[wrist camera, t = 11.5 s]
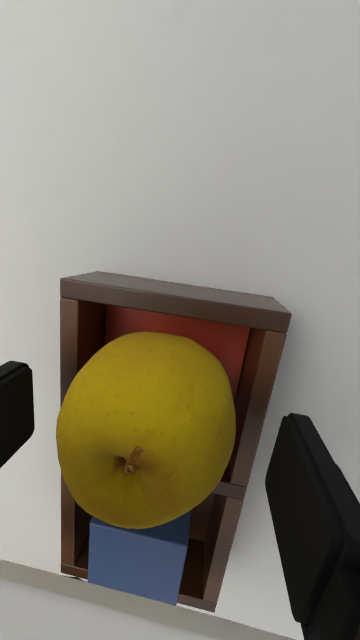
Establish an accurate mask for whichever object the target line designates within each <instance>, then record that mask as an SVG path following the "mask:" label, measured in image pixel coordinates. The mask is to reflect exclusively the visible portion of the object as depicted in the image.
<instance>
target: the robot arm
mask: <svg viewBox="0 0 360 640" xmlns="http://www.w3.org/2000/svg"><path fill="white" fill-rule="evenodd" d="M33 431H34V404H33V380H32V370H31V369H30V368H29V366H28V364H26V363H21V362H15V361H9V362H7V363H5V364H3V365H1V366H0V468H1V467H2V466H3V465H4V464H5V463H6V462H7V461H8V460H9V459H10V458H11V457H12V456H13V455H14V454H15V453H16V452H17V450H18V449H19V448H20V447H21V446H22V445H23V444H24V443H25V442H26V441H27V440H28V439H29V438H30V437H31V436H32V434H33ZM265 487H266V492H267V497H268V501H269V506H270V511H271V516H272V520H273V525H274V530H275V534H276V539H277V544H278V549H279V553H280V558H281V563H282V568H283V572H284V577H285V582H286V586H287V591H288V596H289V601H290V605H291V610H292V614H293V617H294V619H295V621H296V622H300V623H301V627H302V631H303V636H304V640H360V503H359V501H358V500H357V498H356V496H355V494H354V493H353V491H352V489H351V487H350V486H349V484H348V482H347V480H346V479H345V477H344V475H343V473H342V471H341V470H340V468H339V467H338V466H337V464H335V462H334V461H333V459H332V457H331V455H330V453H329V452H328V450H327V448H326V446H325V444H324V443H323V441H322V439H321V437H320V435H319V434H318V432H317V430H316V428H315V426H314V425H313V423H312V421H311V419H310V418H309V417H308V416H305V415H300V414H295V413H290V414H289V415H288V417H287V416H284V417H283V418H282V421H281V425H280V428H279V432H278V435H277V439H276V442H275V446H274V449H273V453H272V456H271V460H270V463H269V467H268V470H267V474H266V479H265ZM0 640H294V639H291V638H287V637H284V636H281V635H277V634H274V633H270V632H267V631H264V630H260V629H257V628H253V627H250V626H246V625H243V624H240V623H236V622H233V621H229V620H226V619H222V618H219V617H215V616H211V615H208V614H204V613H200V612H197V611H193V610H189V609H185V608H182V607H178V606H174V605H171V604H167V603H163V602H159V601H156V600H152V599H148V598H145V597H141V596H137V595H134V594H130V593H126V592H122V591H119V590H115V589H111V588H107V587H104V586H100V585H96V584H92V583H88V582H85V581H81V580H77V579H73V578H70V577H66V576H62V575H58V574H54V573H51V572H47V571H43V570H39V569H35V568H31V567H28V566H24V565H20V564H16V563H12V562H9V561H5V560H1V559H0Z"/></svg>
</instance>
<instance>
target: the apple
mask: <svg viewBox="0 0 360 640" xmlns="http://www.w3.org/2000/svg"><path fill="white" fill-rule="evenodd" d="M235 434H236V413H235V408H234V403H233V398H232V391H231V387H230V383H229V379H228V377H227V374H226V372H225V370H224V368H223V366H222V365H221V363H220V362H219V360H218V359H217V358H216V357H215V356H214V355H213V354H212V353H210V352H209V351H208V350H207V349H205V348H204V347H202V346H201V345H199V344H198V343H196V342H195V341H193V340H191V339H190V338H187V337H183V336H177V335H172V334H167V333H160V332H135V333H130V334H126V335H123V336H121V337H119V338H117V339H115V340H113V341H111V342H109V343H108V344H107V345H105V346H104V347H103V348H101V349H100V350H99V351H98V352H97V353H96V354H94V355H93V356H92V358H91V359H90V360H89V361H88V362H87V363H86V364H85V365H84V366H83V368H82V369H81V370H80V371H79V372H78V373H77V375H76V376H75V378H74V379H73V381H72V383H71V385H70V387H69V389H68V391H67V393H66V395H65V398H64V401H63V404H62V407H61V410H60V412H59V415H58V419H57V428H56V439H57V449H58V459H59V463H60V467H61V471H62V475H63V478H64V480H65V482H66V484H67V486H68V488H69V490H70V492H71V494H72V496H73V498H74V499H75V501H76V502H77V504H78V505H79V506H80V507H81V508H83V509H84V510H85V511H86V512H87V513H89V514H90V515H92V516H94V517H96V518H98V519H100V520H102V521H104V522H106V523H108V524H111V525H114V526H118V527H122V528H127V529H130V528H134V529H144V528H151V527H154V526H157V525H162V524H164V523H167V522H169V521H172V520H174V519H176V518H178V517H180V516H181V515H183V514H185V513H186V512H188V511H190V510H191V509H192V508H194V507H195V506H197V505H198V504H199V503H201V502H202V501H203V500H204V499H205V498H206V497H207V496H208V495H209V494H210V493H211V492H212V491H213V490H214V488H215V487H216V486H217V485H218V483H219V482H220V480H221V478H222V476H223V474H224V471H225V469H226V467H227V465H228V462H229V460H230V457H231V454H232V451H233V447H234V442H235Z"/></svg>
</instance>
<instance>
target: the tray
mask: <svg viewBox="0 0 360 640" xmlns="http://www.w3.org/2000/svg"><path fill="white" fill-rule="evenodd" d="M60 296H61V297H62V298H60V385H61V407H62V404H63V401H64V398H65V395H66V393H67V391H68V389H69V387H70V385H71V383H72V381H73V379H74V378H75V376H76V375H77V373H78V372H79V371H80V370H81V369H82V368H83V366H84V365H85V364H86V363H87V362H88V361H89V360H90V359H91V358H92V356H93V355H94V354H96V353H97V352H98V351H99V350H100V349H101V348H103V347H104V346H105V345H107V344H108V343H109V342H111V341H113V340H115V339H117V338H119V337H121V336H123V335H126V334H130V333H135V332H160V333H167V334H172V335H177V336H183V337H187V338H190V339H191V340H193V341H195V342H196V343H198V344H199V345H201V346H202V347H204V348H205V349H207V350H208V351H209V352H210V353H212V354H213V355H214V356H215V357H216V358H217V359H218V360H219V362H220V363H221V365H222V366H223V368H224V370H225V372H226V374H227V377H228V379H229V383H230V387H231V391H232V398H233V403H234V408H235V413H236V434H235V442H234V447H233V451H232V454H231V457H230V460H229V462H228V465H227V467H226V469H225V471H224V474H223V476H222V478H221V480H220V482H219V483H218V485H217V486H216V487H215V488H214V490H213V491H212V492H211V493H210V494H209V495H208V496H207V497H206V498H205V499H204V500H203V501H202V502H201V503H199V504H198V505H197V506H195V507H194V508H192V509H191V514H190V525H189V536H188V547H187V552H186V557H185V562H184V568H183V573H182V578H181V583H180V588H179V594H178V599H177V603H180V604H183V605H187V606H191V607H195V608H199V609H203V610H206V611H210V612H215V608H216V604H217V600H218V597H219V593H220V589H221V585H222V581H223V577H224V574H225V570H226V566H227V562H228V558H229V554H230V550H231V547H232V543H233V539H234V535H235V531H236V527H237V524H238V520H239V516H240V512H241V508H242V504H243V501H244V500H243V499H244V496H245V492H246V489H247V485H248V481H249V477H250V474H251V470H252V466H253V462H254V458H255V454H256V450H257V447H258V443H259V439H260V435H261V431H262V427H263V424H264V420H265V416H266V412H267V408H268V404H269V400H270V397H271V393H272V389H273V385H274V381H275V377H276V374H277V370H278V366H279V362H280V358H281V354H282V350H283V347H284V343H285V339H286V335H287V334H286V333H287V331H288V327H289V323H290V319H291V315H292V314H291V313H290V312H289V311H288V310H287V309H285V308H284V307H283V306H282V305H281V304H279V303H278V302H277V301H276V300H275V299H274V298H273V297H268V296H261V295H254V294H248V293H241V292H234V291H227V290H220V289H214V288H207V287H200V286H193V285H187V284H180V283H173V282H166V281H159V280H153V279H146V278H139V277H132V276H126V275H119V274H112V273H105V272H99V271H97V272H92V273H87V274H81V275H76V276H70V277H65V278H61V279H60ZM92 518H93V516H92V515H90V514H89V513H87V512H86V511H85V510H84V509H83V508H81V507H80V506H79V505H78V504H77V502H76V501H75V499H74V498H73V496H72V494H71V492H70V490H69V488H68V486H67V484H66V482H65V480H64V478H63V475H62V471H61V573H65V574H69V575H73V576H76V577H80V578H84V579H88V560H89V535H90V522H91V520H92Z"/></svg>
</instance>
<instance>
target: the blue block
mask: <svg viewBox="0 0 360 640" xmlns="http://www.w3.org/2000/svg"><path fill="white" fill-rule="evenodd" d="M190 514H191V510H190V511H188V512H186V513H185V514H183V515H181V516H180V517H178V518H176V519H174V520H172V521H169V522H167V523H164V524H162V525H157V526H154V527H151V528H144V529H134V528H130V529H127V528H122V527H118V526H114V525H111V524H108V523H106V522H104V521H102V520H100V519H98V518H96V517H94V516H93V518H92V520H91V522H90V535H89V560H88V583H92V584H96V585H100V586H104V587H107V588H111V589H115V590H119V591H122V592H126V593H130V594H134V595H137V596H141V597H145V598H148V599H152V600H156V601H159V602H163V603H167V604H171V605H174V606H176V604H177V599H178V594H179V588H180V583H181V578H182V573H183V568H184V562H185V557H186V552H187V547H188V536H189V525H190Z"/></svg>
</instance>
